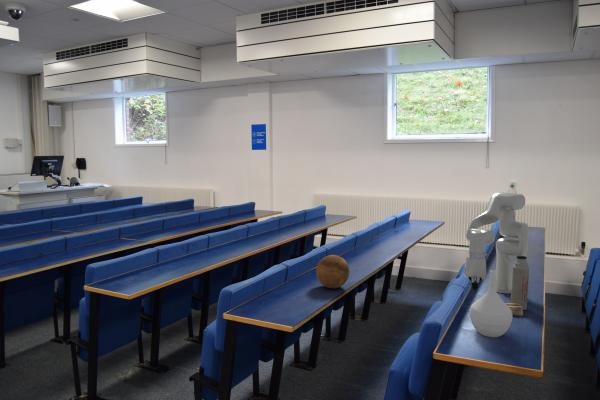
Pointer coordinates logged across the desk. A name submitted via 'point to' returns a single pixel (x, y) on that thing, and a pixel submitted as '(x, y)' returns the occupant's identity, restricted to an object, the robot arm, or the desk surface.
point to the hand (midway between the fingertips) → (474, 289)
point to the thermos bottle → (520, 282)
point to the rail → (515, 308)
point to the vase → (491, 312)
